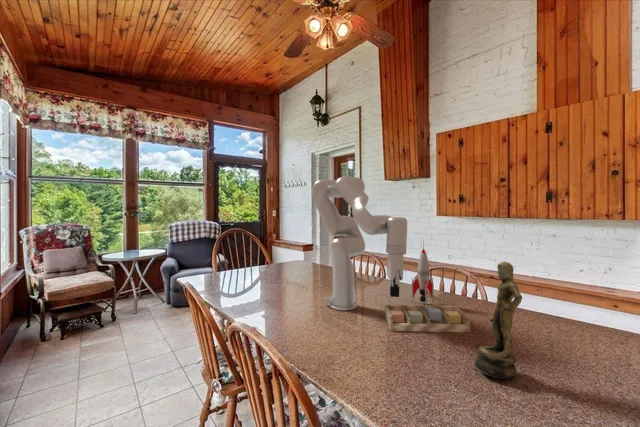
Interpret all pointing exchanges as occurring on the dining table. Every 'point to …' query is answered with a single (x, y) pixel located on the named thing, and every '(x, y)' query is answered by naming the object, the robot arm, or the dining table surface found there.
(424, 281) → the toy
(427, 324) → the tray
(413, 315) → the key sage
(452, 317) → the key mustard
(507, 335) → the statue
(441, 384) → the dining table surface
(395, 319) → the key terracotta
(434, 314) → the key slate
